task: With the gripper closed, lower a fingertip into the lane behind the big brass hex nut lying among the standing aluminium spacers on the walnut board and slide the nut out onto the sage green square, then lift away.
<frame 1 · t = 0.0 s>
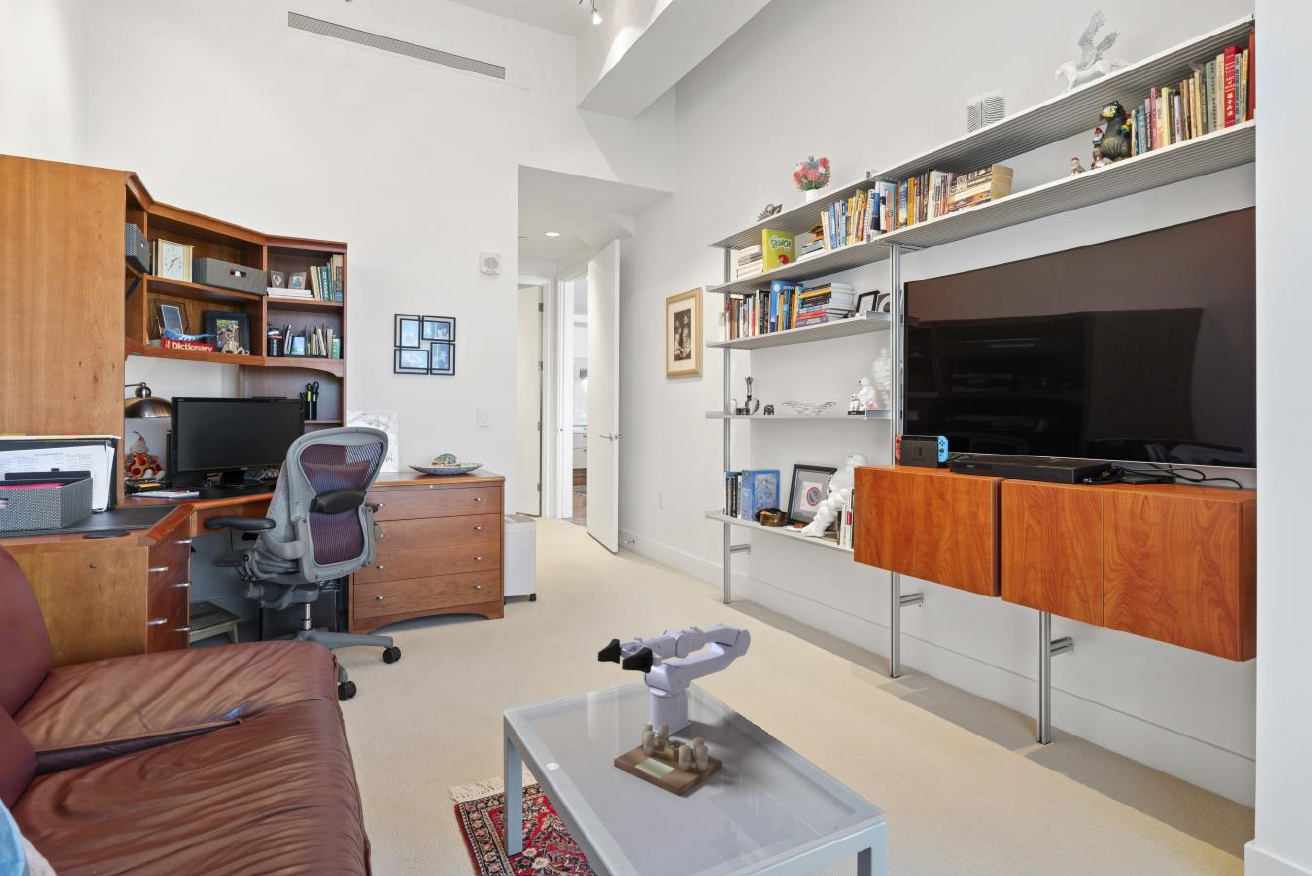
hand: (610, 660, 156), 22 cm above the table, tool horizontal, fingers open, 7 cm apart
nut: (675, 755, 154), point 1 cm above the table, touching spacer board
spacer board: (667, 766, 152), on the table
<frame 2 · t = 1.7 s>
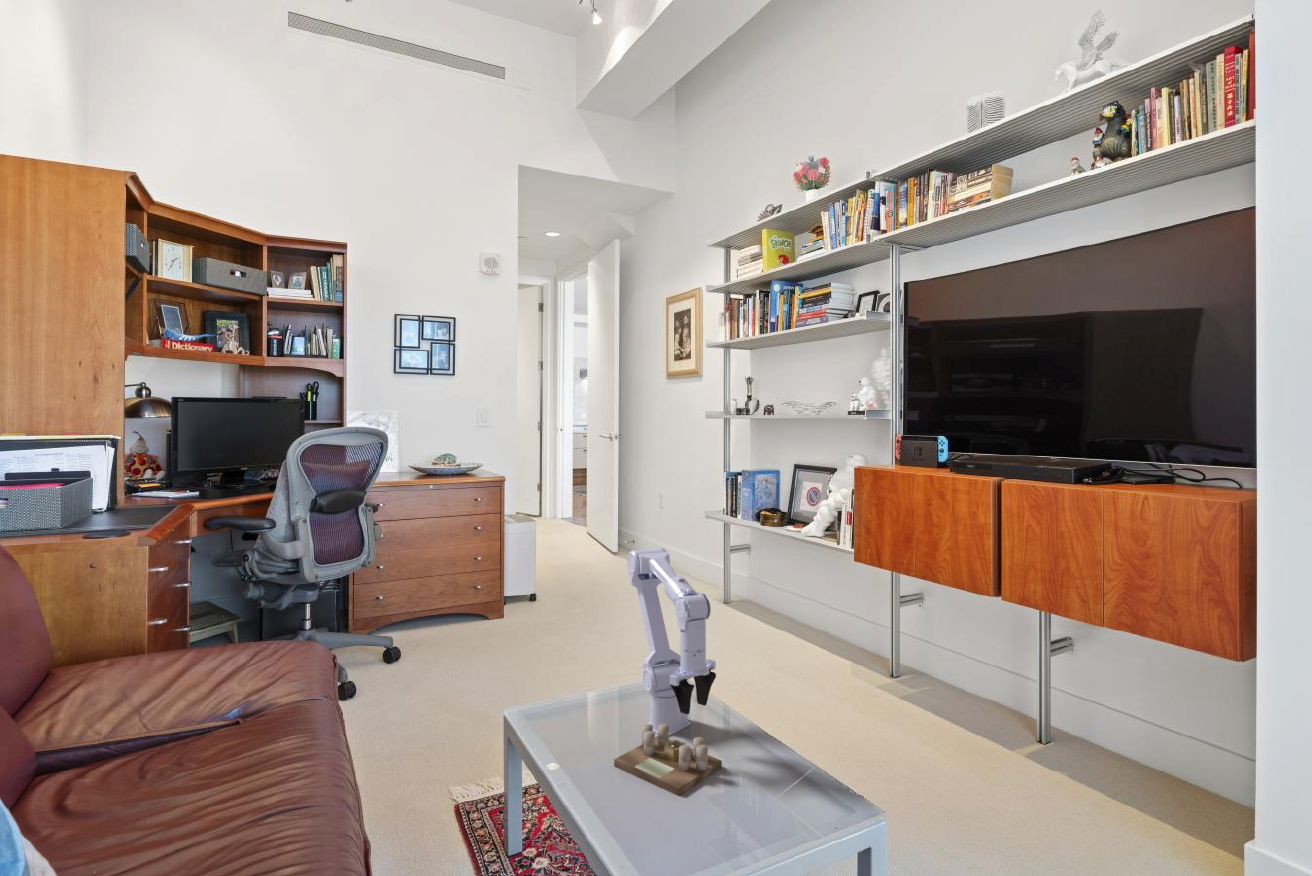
hand: (693, 708, 158), 10 cm above the table, tool pointing down, fingers open, 6 cm apart
nothing on the table moved.
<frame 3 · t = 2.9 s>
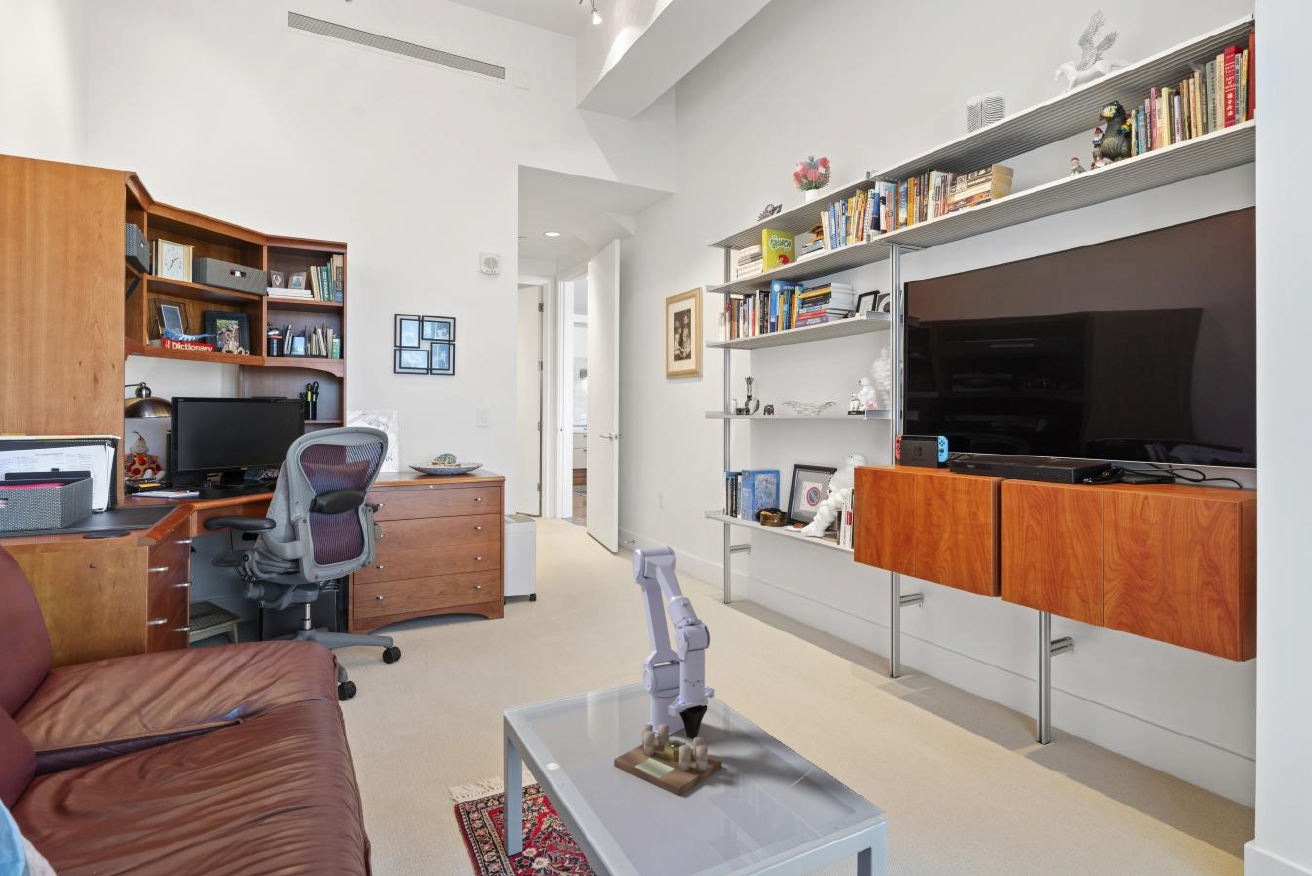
hand: (692, 737, 158), 4 cm above the table, tool pointing down, fingers closed
nothing on the table moved.
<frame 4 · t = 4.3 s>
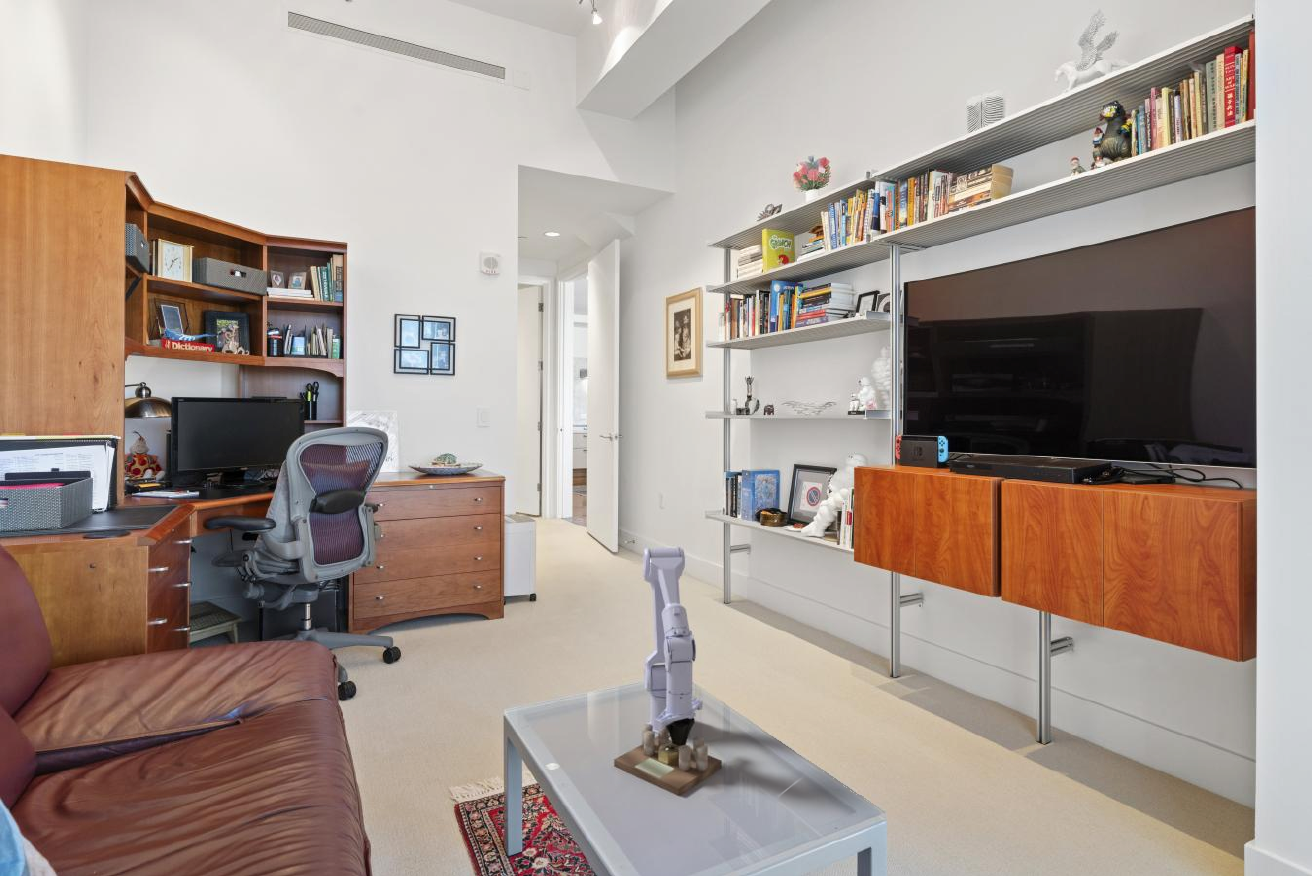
hand: (679, 750, 155), 2 cm above the table, tool pointing down, fingers closed
nut: (669, 759, 152), point 2 cm above the table, touching gripper
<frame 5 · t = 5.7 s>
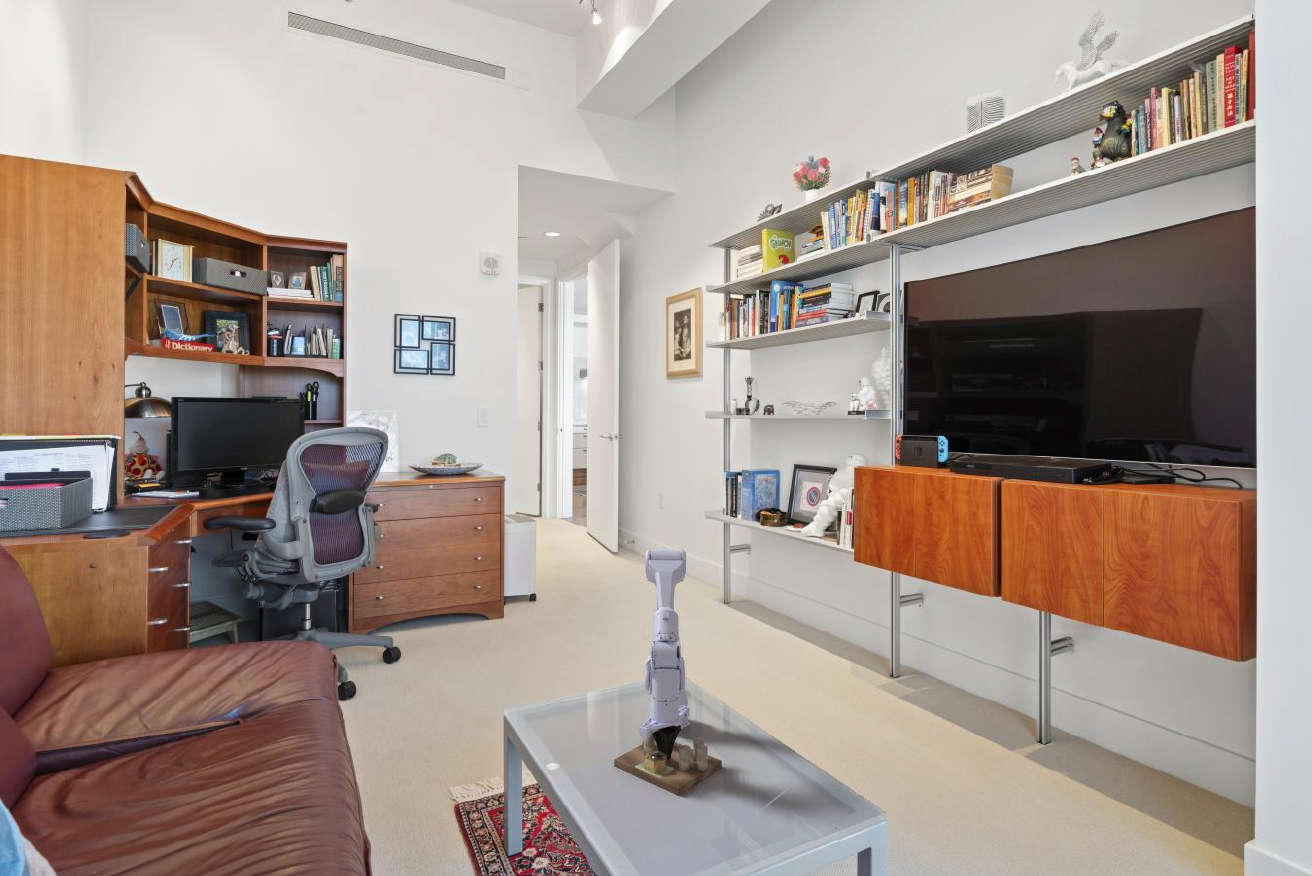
hand: (665, 758, 151), 2 cm above the table, tool pointing down, fingers closed
nut: (655, 767, 149), point 2 cm above the table, touching gripper, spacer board
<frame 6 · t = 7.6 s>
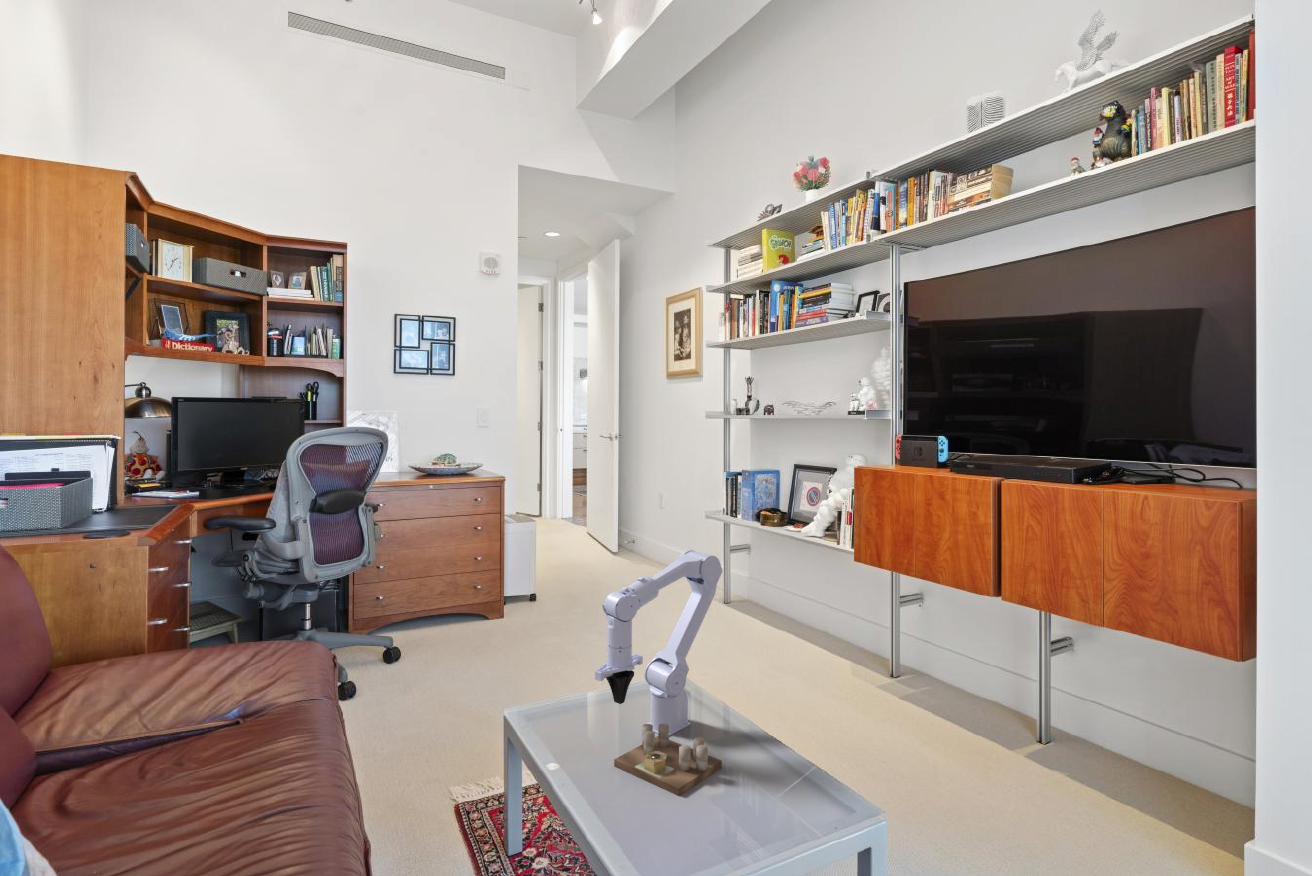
hand: (619, 702, 163), 9 cm above the table, tool pointing down, fingers closed
nut: (655, 767, 149), point 2 cm above the table, touching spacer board
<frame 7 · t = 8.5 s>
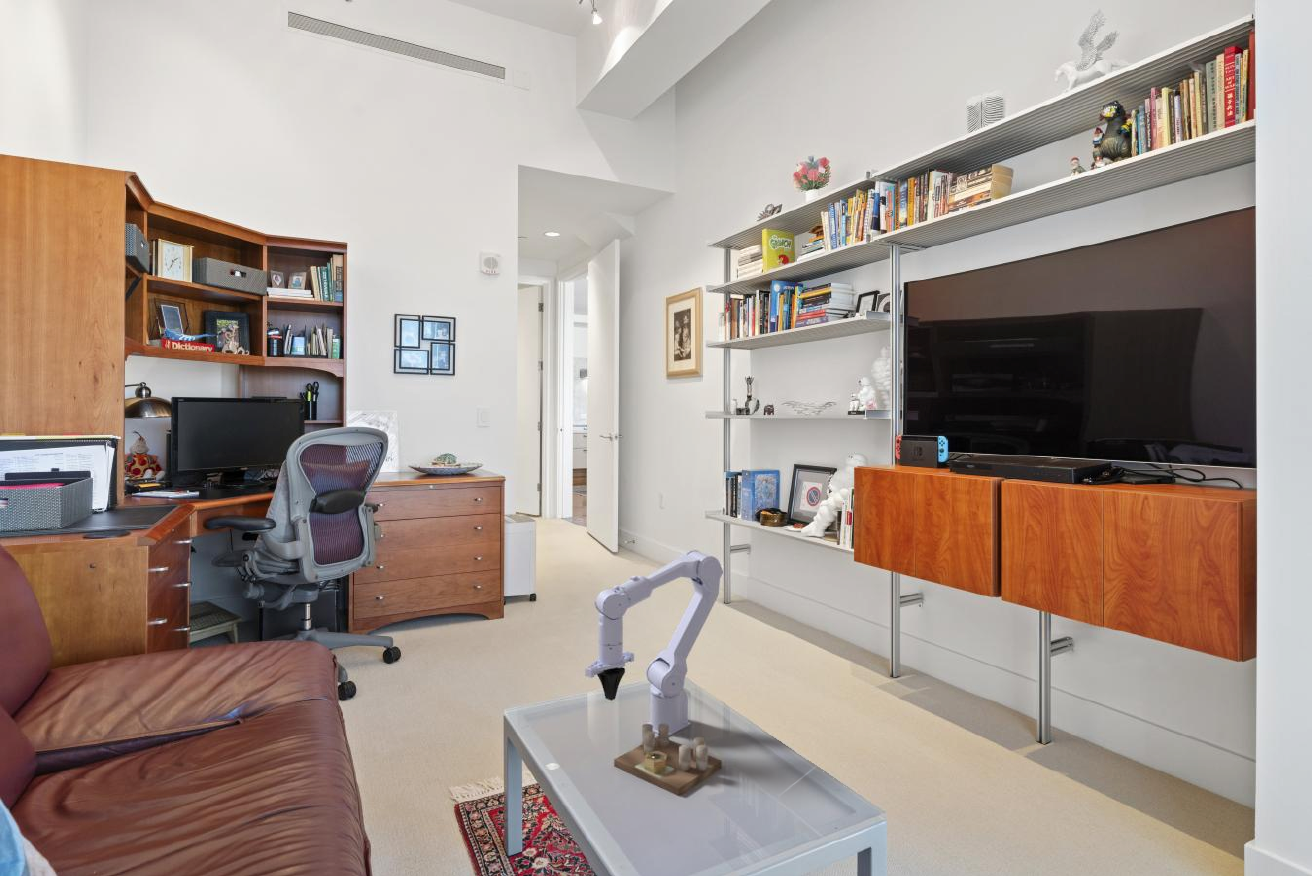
hand: (610, 698, 165), 9 cm above the table, tool pointing down, fingers closed
nothing on the table moved.
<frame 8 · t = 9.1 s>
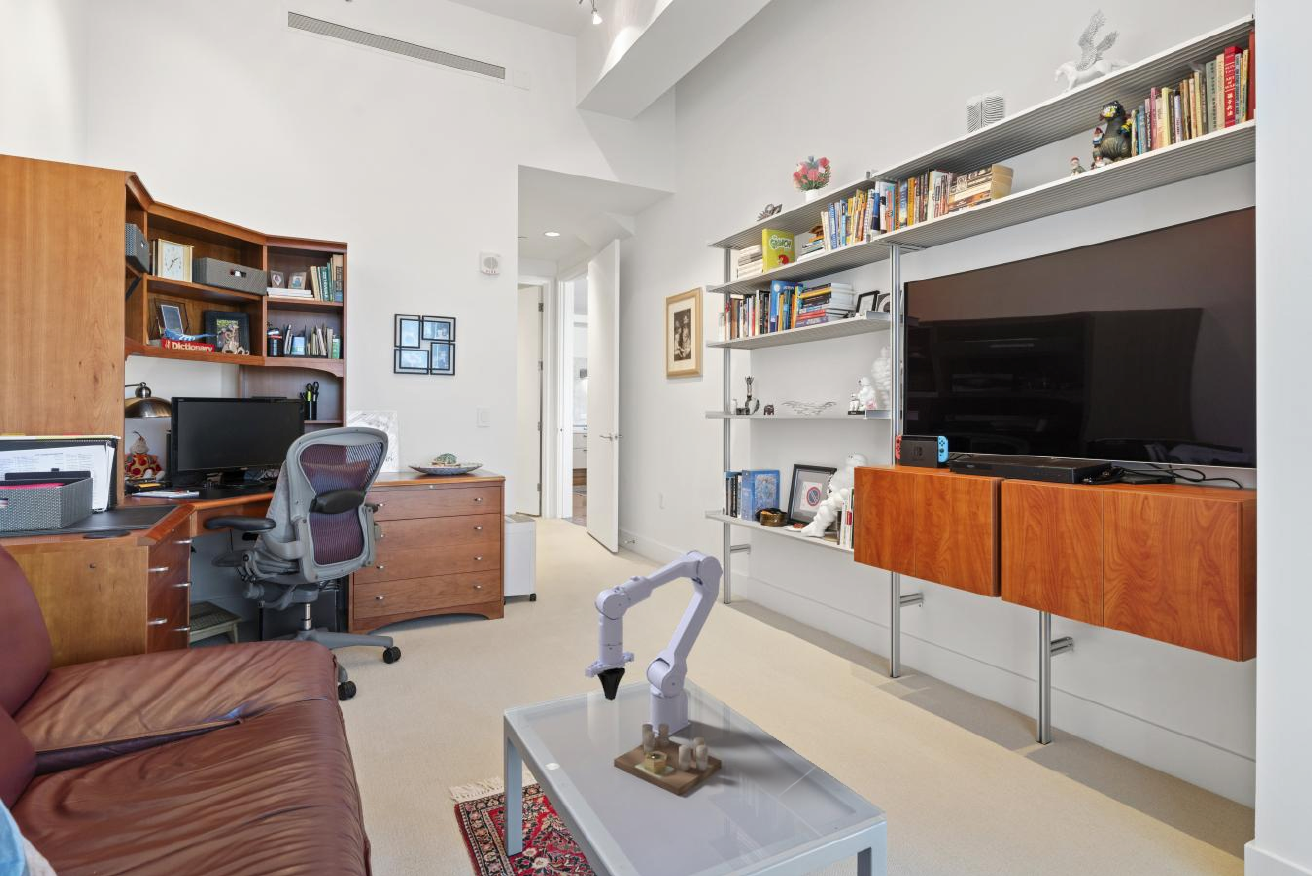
hand: (610, 698, 165), 9 cm above the table, tool pointing down, fingers closed
nothing on the table moved.
at the end: nut 0.8 cm from the target spot, point 1.5 cm above the table; nut tilted 0°; nut moved 6.7 cm from its start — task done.
